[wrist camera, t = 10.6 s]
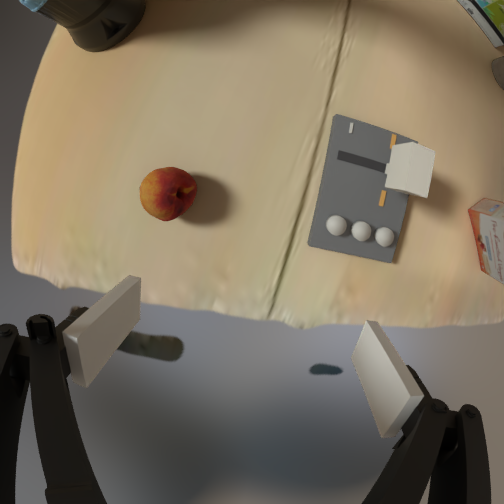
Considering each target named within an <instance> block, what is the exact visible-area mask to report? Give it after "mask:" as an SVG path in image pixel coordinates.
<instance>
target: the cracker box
mask: <svg viewBox="0 0 504 504" xmlns="http://www.w3.org/2000/svg"><path fill="white" fill-rule="evenodd" d="M468 212H469V215H470V219H471V223H472V227H473V231H474V235H475V240H476V245H477V249H478V255H479V260H480V266H481V270H482V271H483V272H485V273H486V274H488V275H490V276H491V277H493V278H494V279H496V280H498V281H499V282H501V283H502V284H504V203H503V202H499V201H495V200H491V199H486V198H484V199H482V200H481V201H480V202H478V203H477V204H476V205H474V206H473V207H471V208H470V209H468Z"/></svg>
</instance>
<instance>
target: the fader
mask: <svg viewBox="0 0 504 504" xmlns="http://www.w3.org/2000/svg"><path fill="white" fill-rule="evenodd" d="M434 158H435V151H433V150H431V149H429V148H427V147H424V146H422V145H419V144H417V143H415V142H409V143H403V144H397V145H392V151H391V157H390V162H389V163H387V164H386V170H385V174H387V178H386V183H385V187H386V188H389V189H392V190H395V191H398V192H402V193H405V194H409V195H414V196H419V197H424V198H427V197H428V192H429V187H430V182H431V176H432V171H433V165H434Z"/></svg>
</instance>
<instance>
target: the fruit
mask: <svg viewBox="0 0 504 504" xmlns="http://www.w3.org/2000/svg"><path fill="white" fill-rule="evenodd" d="M196 192H197V185H196V182H195V181H194V179H193V178H192V177H191V175H190V174H188V173H187V172H186V171H184V170H181V169H178V168H175V167H166V168H161V169H156V170H154V171H152V172H151V173H149V174H148V175H147V176H146V177H145V179H144V180H143V182H142V183H141V186H140V200H141V203H142V206H143V208H144V209H145V210H146V211H147V212H148V213H149V214H150V215H152V216H154V217H156V218H158V219H160V220H162V221H170V220H173V219H175V218H177V217H179V216H180V215H182V214H183V213H184V212H185V211H186V210H187V209H188V208H189V207H190V206H191V205H192V203H193V201H194V199H195V196H196Z"/></svg>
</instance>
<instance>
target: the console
mask: <svg viewBox="0 0 504 504" xmlns="http://www.w3.org/2000/svg"><path fill="white" fill-rule="evenodd" d="M409 142H415V143H417V144H418V142H417V141H414V140H412V139H410V138H407V137H404V136H402V135H399V134H397V133H394V132H391V131H388V130H386V129H383V128H380V127H377V126H374V125H371V124H368V123H365V122H362V121H359V120H355V119H352V118H349V117H345V116H342V115H338V114H336V115H335V116H333V121H332V127H331V133H330V138H329V144H328V149H327V154H326V159H325V164H324V169H323V174H322V179H321V184H320V189H319V194H318V198H317V203H316V208H315V212H314V217H313V221H312V225H311V230H310V234H309V238H308V245H309V246H311V247H316V248H321V249H326V250H331V251H336V252H340V253H345V254H350V255H355V256H359V257H364V258H369V259H374V260H378V261H383V262H387V263H391V262H392V259H393V255H394V252H395V249H396V245H397V241H398V238H399V234H400V230H401V226H402V222H403V218H404V214H405V210H406V206H407V201H408V197H409V194H405V193H402V192H398V191H395V190H392V189H389V188H386V187H385V183H386V178H387V174H385V170H386V164H387V163H389V162H390V157H391V151H392V145H397V144H403V143H409Z"/></svg>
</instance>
